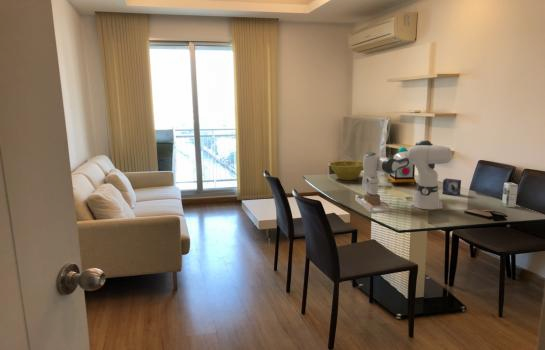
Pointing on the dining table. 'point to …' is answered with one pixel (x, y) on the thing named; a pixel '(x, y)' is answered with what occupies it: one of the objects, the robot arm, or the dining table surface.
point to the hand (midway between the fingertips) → (369, 198)
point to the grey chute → (372, 208)
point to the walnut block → (372, 199)
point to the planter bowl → (347, 169)
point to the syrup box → (509, 194)
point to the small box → (451, 187)
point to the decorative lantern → (403, 173)
